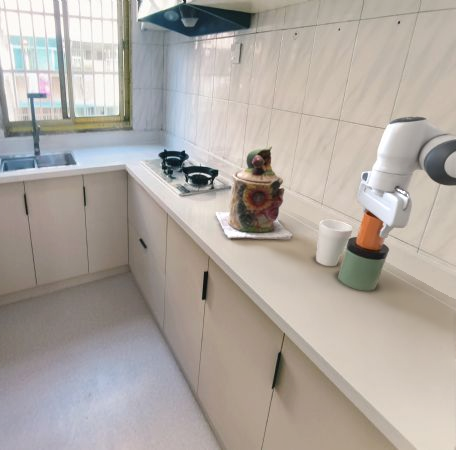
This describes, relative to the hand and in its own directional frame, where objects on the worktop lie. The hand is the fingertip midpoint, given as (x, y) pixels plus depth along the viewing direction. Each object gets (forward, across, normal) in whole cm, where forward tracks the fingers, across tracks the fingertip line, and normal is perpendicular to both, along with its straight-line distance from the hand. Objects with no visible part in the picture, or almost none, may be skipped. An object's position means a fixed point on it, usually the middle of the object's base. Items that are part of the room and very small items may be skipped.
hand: (373, 229), depth 94 cm
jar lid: (+5, 0, 0) cm, 5 cm away
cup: (+5, 0, 0) cm, 5 cm away
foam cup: (+17, +11, +5) cm, 21 cm away
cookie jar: (+17, +35, +26) cm, 47 cm away
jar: (+17, 0, 0) cm, 17 cm away
